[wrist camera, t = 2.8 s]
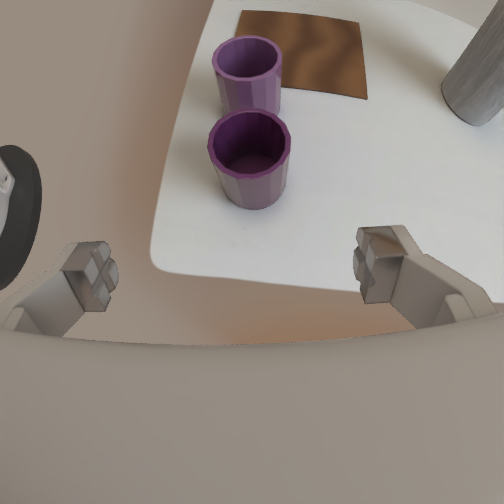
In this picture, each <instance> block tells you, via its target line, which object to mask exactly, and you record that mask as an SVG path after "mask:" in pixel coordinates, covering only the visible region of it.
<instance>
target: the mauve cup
mask: <svg viewBox="0 0 504 504" xmlns="http://www.w3.org/2000/svg"><path fill="white" fill-rule="evenodd" d="M212 65H213V69H214V73H215V77H216V81H217V85H218V89H219V93H220V97H221V101H222V105H223V108H224V111H225V114H228V113H229V112H232V111H235V110H239V109H242V108H260V109H263V110H266V111H268V112H271V113H273V114H275V115H276V116H277V115H278V113H279V110H280V97H281V73H282V52H281V51H280V49H279V47H278V45H276V44H275V43H274V42H272V41H271V40H269V39H267V38H263V37H260V36H252V35H244V36H239V37H235V38H231V39H229V40H227V41H226V42H224V43H222V44H221V45H220V46H219V47H218V48H217V49H216V50H215V51H214V53H213V58H212Z"/></svg>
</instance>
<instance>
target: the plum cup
mask: <svg viewBox="0 0 504 504" xmlns="http://www.w3.org/2000/svg"><path fill="white" fill-rule="evenodd" d="M290 146H291V136H290V134H289V131H288V129H287V127H286V125H285V123H284V122H283V121H282V120H280V119H279V118H278V117H277V116H276V115H275V114H273V113H271V112H268V111H266V110H263V109H260V108H242V109H239V110H235V111H232V112H229V113H228V114H226V115H225V116H224V117H222V118H221V119H219V120H218V121H217V122H216V124H215V125H214V127H213V129H212V130H211V132H210V133H209V139H208V145H207V148H208V151H209V155H210V158H211V161H212V163H213V166H214V168H215V170H216V173H217V175H218V177H219V180H220V182H221V184H222V187H223V189H224V191H225V193H226V195H227V196H228V198H229V199H230V200H231V201H232V202H233V203H234V204H236V205H237V206H239V207H242V208H244V209H249V210H259V209H263V208H266V207H268V206H270V205H272V204H273V203H275V202H276V201H277V200H278V199H279V197H280V196H281V195H282V193H283V190H284V188H285V184H286V177H287V170H288V163H289V156H290Z"/></svg>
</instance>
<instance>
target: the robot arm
mask: <svg viewBox="0 0 504 504" xmlns="http://www.w3.org/2000/svg"><path fill="white" fill-rule="evenodd" d="M14 183H15V178H14V177H13V175H12V174H11V172H10V171H9V169H8V168H7V166H6V165H5V163H4V162H3V160H2V158H1V157H0V236H1V234H2V231H3V228H4V225H5V222H6V218H7V213H8V206H9V198H10V195H11V192H12V189H13V186H14ZM356 240H357V243H358V245H359V246H358V247H357V248H356V249H355V250H354V256H353V269H354V274H355V277H356V279H357V280H358V281H360V282H361V285H360V291H361V294H362V297H363V300H364V303H365V304H374V303H388V302H390V304H391V305H392V306H393V307H394V308H395V309H396V310H397V311H399V312H400V313H401V314H402V315H403V316H404V317H405V318H406V319H407V320H408V321H409V322H410V323H411V324H412V325H413V326H414V327H415V328H416V329H415V330H408V331H401V332H394V333H387V334H379V335H371V336H363V337H354V338H344V339H334V340H321V341H308V342H291V343H271V344H241V345H170V344H142V343H123V342H109V341H96V340H83V339H73V338H65V337H62V336H63V335H64V334H65V333H66V332H67V331H68V330H69V329H70V328H71V327H72V326H73V325H74V324H75V323H76V322H77V321H78V319H79V318H80V317H81V316H82V315H83V314H84V313H85V312H105V311H106V308H107V306H108V304H109V301H110V299H111V296H110V292H112V291H113V290H114V289H115V288H116V286H117V283H118V276H119V273H118V268H117V265H116V263H115V261H114V260H113V259H111V258H110V253H111V250H110V247H109V245H108V243H106V242H105V241H96V242H81V243H80V242H77V243H70V244H67V246H66V247H65V249H64V250H63V251H62V253H61V254H60V255H59V257H58V258H57V259H56V261H55V263H54V264H53V265H52V267H51V268H50V269H49V271H45V272H44V273H42V274H41V275H39V276H38V277H36V278H35V279H34V280H32V281H31V282H29V283H28V284H27V285H25V286H24V287H22V288H21V289H20V290H18V291H17V292H15V293H14V294H13V295H12V296H10V297H9V298H7V299H6V300H5V301H3V302H2V303H1V304H0V504H504V312H503V313H498V311H497V310H496V308H495V306H494V305H493V303H492V301H491V300H490V298H489V297H488V295H487V293H486V292H485V290H484V289H483V288H482V287H480V286H478V285H477V284H475V283H474V282H472V281H471V280H469V279H467V278H466V277H464V276H463V275H461V274H459V273H458V272H456V271H455V270H453V269H451V268H450V267H448V266H446V265H445V264H443V263H441V262H440V261H438V260H436V259H435V258H433V257H431V256H430V255H428V254H423V253H422V252H421V250H420V249H419V247H418V246H417V244H416V242H415V241H414V239H413V238H412V236H411V235H410V234H409V232H408V231H407V229H406V228H405V226H403V225H392V226H377V227H360V228H358V231H357V235H356Z"/></svg>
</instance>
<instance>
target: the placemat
mask: <svg viewBox="0 0 504 504" xmlns="http://www.w3.org/2000/svg"><path fill="white" fill-rule="evenodd" d="M244 35H252V36H260V37H263V38H267V39H269V40H271V41H272V42H274V43H275V44H276V45H278V47H279V49H280V51H281V52H282V73H281V87H286V88H296V89H304V90H312V91H319V92H326V93H333V94H339V95H345V96H350V97H356V98H361V99H366V100H367V99H368V96H367V85H366V74H365V65H364V56H363V48H362V41H361V34H360V27H359V23H357V22H352V21H346V20H341V19H335V18H329V17H322V16H315V15H307V14H299V13H288V12H275V11H254V10H242V13H241V17H240V21H239V25H238V28H237V32H236V36H235V37H239V36H244Z"/></svg>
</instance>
